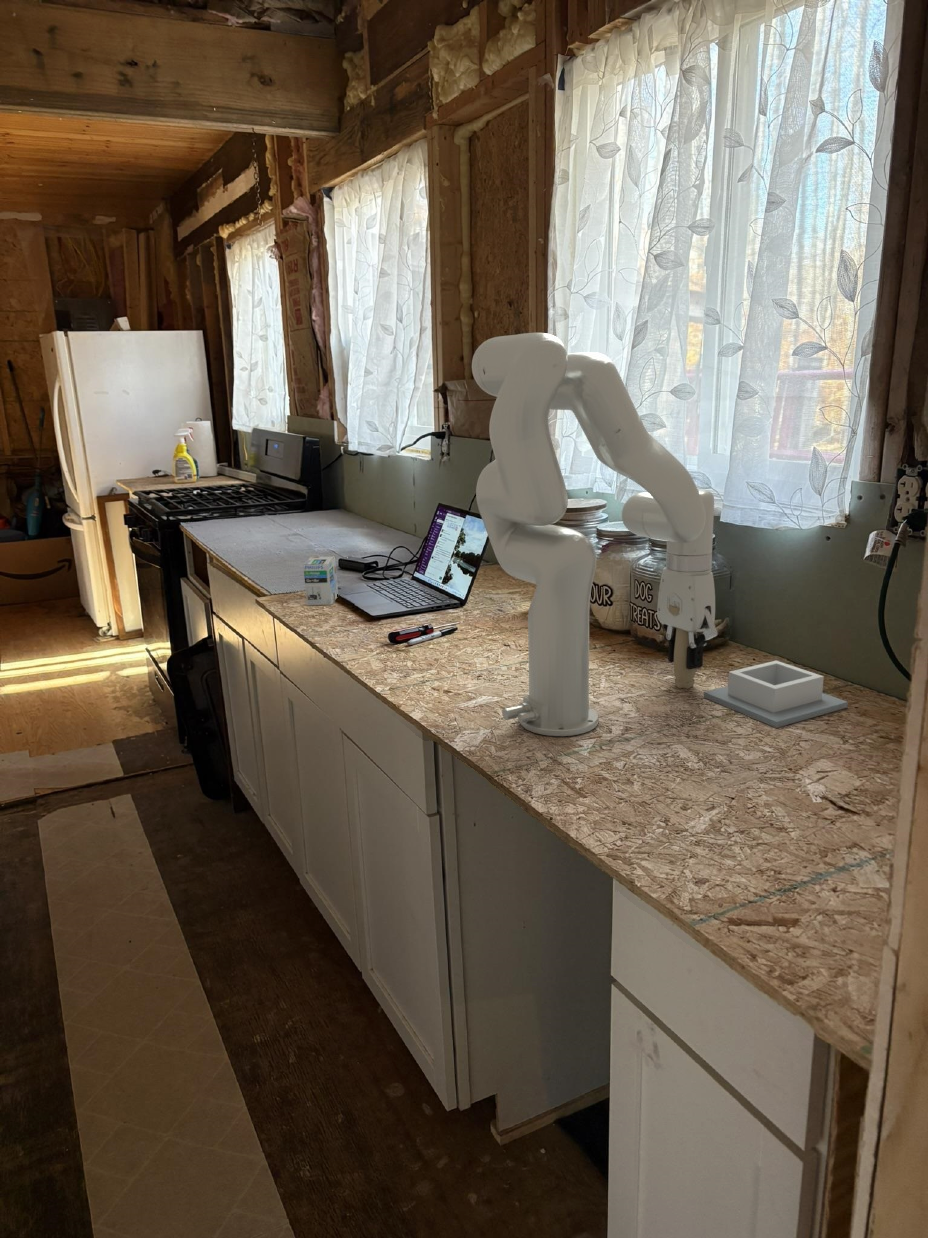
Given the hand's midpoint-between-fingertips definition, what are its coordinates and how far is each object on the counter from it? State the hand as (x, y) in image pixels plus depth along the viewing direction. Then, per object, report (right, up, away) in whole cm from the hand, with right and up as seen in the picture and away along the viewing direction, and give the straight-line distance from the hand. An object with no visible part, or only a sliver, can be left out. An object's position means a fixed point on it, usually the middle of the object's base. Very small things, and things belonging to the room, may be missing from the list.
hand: (685, 663), depth 153 cm
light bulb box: (-75, +12, +71) cm, 104 cm away
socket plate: (+13, -6, -8) cm, 16 cm away
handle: (0, -4, +1) cm, 4 cm away
